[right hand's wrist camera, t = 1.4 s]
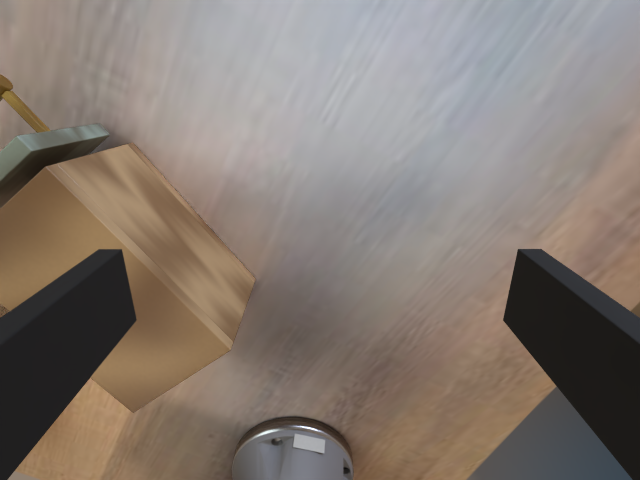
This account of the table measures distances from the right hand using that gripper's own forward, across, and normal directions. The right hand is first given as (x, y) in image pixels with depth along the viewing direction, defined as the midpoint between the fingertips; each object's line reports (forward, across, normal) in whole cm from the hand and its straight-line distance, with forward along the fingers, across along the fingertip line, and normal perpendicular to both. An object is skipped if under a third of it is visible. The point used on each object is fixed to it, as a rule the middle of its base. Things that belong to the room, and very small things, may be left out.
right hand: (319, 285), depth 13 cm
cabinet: (+23, +16, +8) cm, 29 cm away
